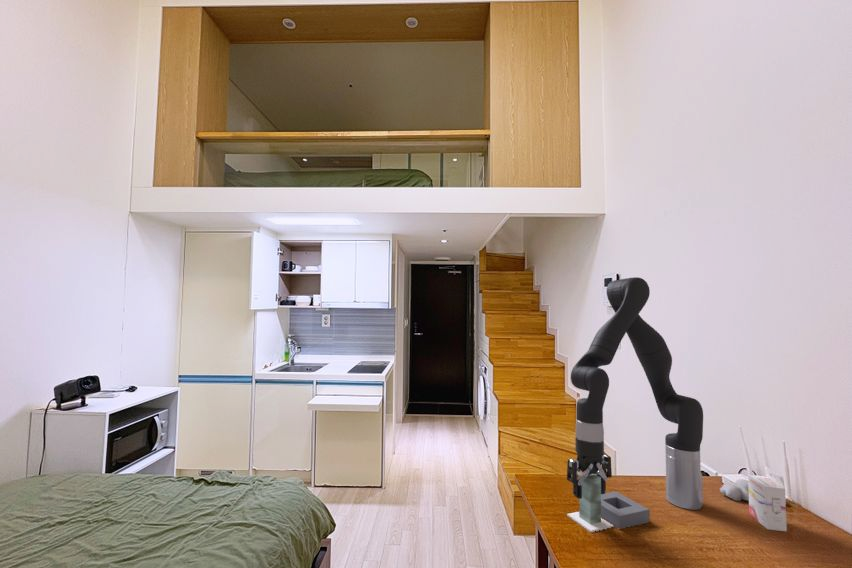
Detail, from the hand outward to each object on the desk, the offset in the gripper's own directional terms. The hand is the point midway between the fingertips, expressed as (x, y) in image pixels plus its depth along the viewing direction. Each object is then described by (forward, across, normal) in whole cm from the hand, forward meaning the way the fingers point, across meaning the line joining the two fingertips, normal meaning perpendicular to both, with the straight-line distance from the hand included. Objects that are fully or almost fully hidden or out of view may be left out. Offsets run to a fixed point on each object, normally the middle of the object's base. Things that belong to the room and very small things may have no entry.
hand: (589, 495), depth 108 cm
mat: (+7, 0, 0) cm, 7 cm away
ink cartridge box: (+7, -50, +17) cm, 53 cm away
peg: (+7, 0, 0) cm, 7 cm away
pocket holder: (+7, -10, 0) cm, 13 cm away
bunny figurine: (+8, -62, +5) cm, 62 cm away
